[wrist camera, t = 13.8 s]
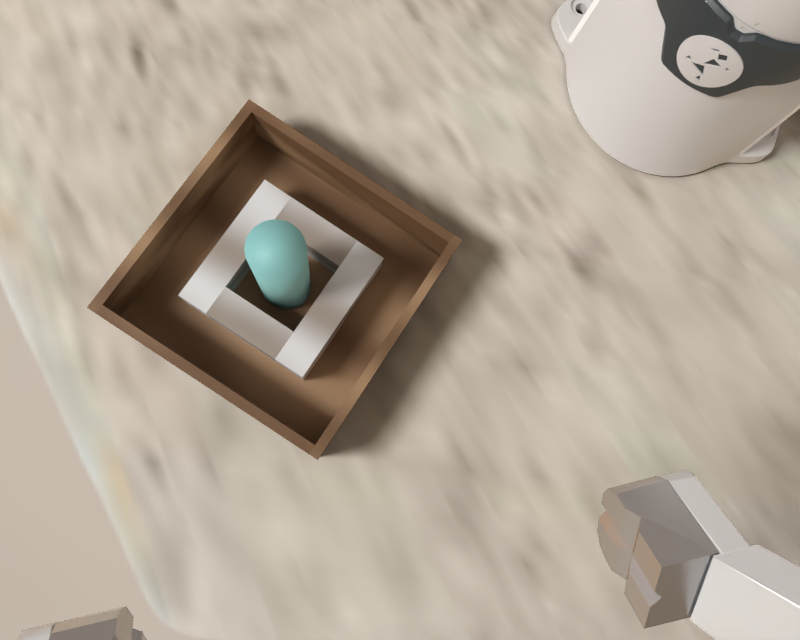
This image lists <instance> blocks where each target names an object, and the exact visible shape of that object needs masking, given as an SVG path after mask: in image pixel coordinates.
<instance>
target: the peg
mask: <svg viewBox="0 0 800 640" xmlns="http://www.w3.org/2000/svg"><path fill="white" fill-rule="evenodd" d="M244 251H245V257H246V260H247V262H248V264H249V266H250V268H251V270H252V272H253V274H254V276H255V278H256V281H257V283H258V285H259V287H260V289H261V291H262V293H263V295H264V297H265V299H266V300H267V301H268V302H269V303H270V304H271V305H272V306H274V307H276V308H278V309H282V310H290V309H295V308H297V307H299V306H301V305H302V304H303V303H304V302H305V301H306V300H307V298H308V297H309V294H310V291H311V279H310V271H309V263H308V255H307V246H306V241H305V238H304V236H303V234H302V233H301V231H300V230H299V229H298V228H297V227H296V226H294V225H293V224H291V223H290V222H287V221H284V220H279V219H273V220H267V221H264V222H262V223H260V224H258V225H257V226H255V227H254V228H253V229H252V230H251V231H250V233H249V234H248V236H247V238H246V241H245V247H244Z"/></svg>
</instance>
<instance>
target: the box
mask: <svg viewBox="0 0 800 640" xmlns="http://www.w3.org/2000/svg"><path fill="white" fill-rule="evenodd" d="M273 219H279V220H284V221H287V222H290V223H291V224H293V225H294V226H296V227H297V228H298V229H299V230H300V231H301V233H302V234H303V236H304V238H305V241H306V246H307V255H308V263H309V271H310V279H311V291H310V294H309V297H308V298H307V300H306V301H305V302H304V303H303V304H302V305H301V306H299V307H297V308H295V309H290V310H282V309H278V308H276V307H274V306H272V305H271V304H270V303H269V302H268V301H267V300H266V299H265V297H264V295H263V293H262V291H261V289H260V287H259V285H258V283H257V281H256V278H255V276H254V274H253V272H252V270H251V268H250V266H249V264H248V262H247V260H246V257H245V251H244V247H245V241H246V238H247V236H248V234H249V233H250V231H251V230H252V229H253V228H254V227H255V226H257V225H258V224H260V223H262V222H264V221H267V220H273ZM461 241H462V240H461V239H460V238H458V237H457V236H455V235H454V234H452V233H451V232H449V231H448V230H446V229H445V228H443V227H442V226H440V225H439V224H437V223H436V222H434V221H432V220H431V219H429V218H428V217H426V216H425V215H423V214H422V213H420V212H419V211H417V210H416V209H414V208H413V207H411V206H410V205H408V204H407V203H405V202H404V201H402V200H401V199H399V198H398V197H396V196H395V195H393V194H392V193H390V192H389V191H387V190H385V189H384V188H382V187H381V186H379V185H378V184H376V183H375V182H373V181H372V180H370V179H369V178H367V177H366V176H364V175H363V174H361V173H360V172H358V171H357V170H355V169H354V168H352V167H351V166H349V165H348V164H346V163H345V162H343V161H342V160H340V159H339V158H337V157H335V156H334V155H332V154H331V153H329V152H328V151H326V150H325V149H323V148H322V147H320V146H319V145H317V144H316V143H314V142H313V141H311V140H310V139H308V138H307V137H305V136H304V135H302V134H301V133H299V132H298V131H296V130H295V129H293V128H292V127H290V126H289V125H287V124H285V123H284V122H282V121H281V120H279V119H278V118H276V117H275V116H273V115H272V114H270V113H269V112H267V111H266V110H264V109H263V108H261V107H260V106H258V105H257V104H255V103H254V102H252V101H251V100H248V101H247V103H246V104H245V105H244V106H243V108H242V109H241V110H240V112H239V113H238V114H237V115H236V117H235V118H234V119H233V121H232V122H231V123H230V124H229V126H228V127H227V128H226V130H225V131H224V132H223V133H222V135H221V136H220V137H219V139H218V140H217V141H216V142H215V144H214V145H213V146H212V148H211V149H210V150H209V151H208V153H207V154H206V155H205V157H204V158H203V159H202V160H201V162H200V163H199V164H198V166H197V167H196V168H195V169H194V171H193V172H192V173H191V175H190V176H189V177H188V178H187V180H186V181H185V182H184V184H183V185H182V186H181V187H180V189H179V190H178V191H177V193H176V194H175V195H174V196H173V198H172V199H171V200H170V202H169V203H168V204H167V205H166V207H165V208H164V209H163V211H162V212H161V213H160V214H159V216H158V217H157V218H156V220H155V221H154V222H153V223H152V225H151V226H150V227H149V229H148V230H147V231H146V232H145V234H144V235H143V236H142V238H141V239H140V240H139V241H138V243H137V244H136V245H135V247H134V248H133V249H132V250H131V252H130V253H129V254H128V256H127V257H126V258H125V259H124V261H123V262H122V263H121V265H120V266H119V267H118V268H117V270H116V271H115V272H114V274H113V275H112V276H111V277H110V279H109V280H108V281H107V283H106V284H105V285H104V286H103V288H102V289H101V290H100V292H99V293H98V294H97V295H96V297H95V298H94V299H93V301H92V302H91V303H90V304H89V306H88V307H87V308H89V309H90V310H92V311H93V312H95V313H96V314H98V315H99V316H101V317H102V318H104V319H105V320H107V321H108V322H110V323H111V324H113V325H114V326H116V327H117V328H119V329H120V330H122V331H123V332H125V333H126V334H128V335H129V336H131V337H132V338H134V339H135V340H137V341H139V342H140V343H142V344H143V345H145V346H146V347H148V348H149V349H151V350H152V351H154V352H155V353H157V354H158V355H160V356H161V357H163V358H164V359H166V360H167V361H169V362H170V363H172V364H173V365H175V366H176V367H178V368H179V369H181V370H182V371H184V372H185V373H187V374H188V375H190V376H192V377H193V378H195V379H196V380H198V381H199V382H201V383H202V384H204V385H205V386H207V387H208V388H210V389H211V390H213V391H214V392H216V393H217V394H219V395H220V396H222V397H223V398H225V399H226V400H228V401H229V402H231V403H232V404H234V405H235V406H237V407H238V408H240V409H241V410H243V411H245V412H246V413H248V414H249V415H251V416H252V417H254V418H255V419H257V420H258V421H260V422H261V423H263V424H264V425H266V426H267V427H269V428H270V429H272V430H273V431H275V432H276V433H278V434H279V435H281V436H282V437H284V438H285V439H287V440H288V441H290V442H291V443H293V444H294V445H296V446H298V447H299V448H301V449H302V450H304V451H305V452H307V453H308V454H310V455H311V456H313V457H314V458H316V459H317V460H318V459H319V457H320V456H321V454H322V453H323V451H324V450H325V448H326V447H327V445H328V444H329V442H330V441H331V439H332V438H333V436H334V434H335V433H336V431H337V430H338V428H339V427H340V425H341V424H342V422H343V421H344V419H345V418H346V416H347V415H348V413H349V412H350V410H351V409H352V407H353V406H354V404H355V402H356V401H357V399H358V398H359V396H360V395H361V393H362V392H363V390H364V389H365V387H366V386H367V384H368V383H369V381H370V380H371V378H372V377H373V375H374V374H375V372H376V371H377V369H378V367H379V366H380V364H381V363H382V361H383V360H384V358H385V357H386V355H387V354H388V352H389V351H390V349H391V348H392V346H393V345H394V343H395V342H396V340H397V339H398V337H399V336H400V334H401V332H402V331H403V329H404V328H405V326H406V325H407V323H408V322H409V320H410V319H411V317H412V316H413V314H414V313H415V311H416V310H417V308H418V307H419V305H420V304H421V302H422V300H423V299H424V297H425V296H426V294H427V293H428V291H429V290H430V288H431V287H432V285H433V284H434V282H435V281H436V279H437V278H438V276H439V275H440V273H441V272H442V270H443V269H444V267H445V265H446V264H447V262H448V261H449V259H450V258H451V256H452V255H453V253H454V252H455V250H456V249H457V247H458V246H459V244H460V243H461Z"/></svg>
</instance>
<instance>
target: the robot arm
mask: <svg viewBox="0 0 800 640" xmlns="http://www.w3.org/2000/svg"><path fill="white" fill-rule="evenodd" d="M576 10H580V11H581V12H582V13H583V14H579V13H578V12H577V11H576ZM551 26H552V30H553V33H554V35H555V38H556V40H557V42H558V44H559V46H560V48H561V50H562V52H563V54H564V57H565V62H566V76H567V87H568V92H569V96H570V100H571V103H572V106H573V109H574V111H575V113H576V115H577V117H578V119H579V121H580V123H581V124H582V126H583V128H584V129H585V130H586V132H587V133H588V134H589V136H590V137H591V138H592V139H593V140H594V141H595V142H596V144H597V145H598V146H600V147H601V148H602V149H603V150H604V151H605V152H606V153H608V154H609V155H610V156H612V157H613V158H615V159H616V160H618V161H619V162H621V163H623V164H625V165H627V166H629V167H631V168H633V169H636V170H639V171H642V172H645V173H649V174H653V175H660V176H684V175H690V174H694V173H698V172H701V171H704V170H706V169H708V168H711V167H713V166H716V165H719V164H722V163H726V162H731V163H755V162H759V161H761V160H763V159H764V158H765V157H766V156H767V155H769V154H770V153H771V152H772V150H773V148H774V146H775V143H776V139H777V136H778V133H779V129H780V126H781V123H782V122H783V121H785V120H786V119H787V118H788V117H790V116H791V115H792V114H793V113H795V112H796V111H797V110H798V109H800V0H566V1H565V2H564V3H563V4H562V5H561V6H560V7H559V9H558V10H557V11H556V12H555V14H554V15H553V17H552V20H551ZM602 504H603V506H604V507H605V509H606V511H605V512H604V513H603V514H602V515H601V516H600V517H599V520H598V528H597V532H598V537H599V543H600V547H601V549H602V552H603V554H604V557H605V559H606V561H607V563H608V564H609V566H610V568H611V570H612V571H614V572H615V573H617V574H618V575H620V576H621V577H623V578H625V579H626V584H625V592H624V594H625V595H626V597H627V599H628V601H629V603H630V604H631V606H632V608H633V610H634V612H635V613H636V615H637V617H638V619H639V620H640V622H641V624H642V626H643V628H648V627H652V626H656V625H660V624H664V623H669V622H673V621H677V620H681V619H685V618H689V617H691V618H690V620H691V621H692V622H693V623H695V624H696V625H697V626H698V627H700V628H701V629H702V630H704V631H705V632H706V633H708V634H709V635H710V636H711V637H713V638H714V639H715V640H800V567H799V566H797V565H795V564H793V563H791V562H790V561H788V560H786V559H784V558H782V557H780V556H779V555H777V554H775V553H773V552H771V551H769V550H768V549H766V548H764V547H762V546H760V545H758V544H756V545H751V546H750V545H749V544H748V543H747V541H746V540H745V539H744V538H743V536H742V535H741V534H740V533H739V531H738V530H737V529H736V527H735V526H734V525H733V524H732V522H731V521H730V520H729V518H728V517H727V516H726V515H725V513H724V512H723V511H722V509H721V508H720V507H719V506H718V504H717V503H716V502H715V501H714V499H713V498H712V497H711V495H710V494H709V493H708V492H707V490H706V489H705V488H704V486H703V485H702V484H701V483H700V481H699V480H698V479H697V477H696V476H695V475H694V474H693V473H691V472H690V471H688V470H681V471H677V472H673V473H669V474H665V475H662V476H654V477H651V478H647V479H643V480H639V481H635V482H632V483H628V484H624V485H620V486H616V487H612V488H609V489H607V490H606V491H605V492H604V493H603V497H602ZM132 627H133V616H132V614H131V613H130V611H129V610H128V608H127V607H126V606H125V607H121V608H116V609H112V610H108V611H104V612H99V613H95V614H91V615H87V616H82V617H78V618H74V619H70V620H65V621H61V622H55V623H50V624H47V625H42V626H38V627H35V628H30V629H27V630H22V632H21V634H20V635H19V637H18V639H17V640H147V639H146V638H145V636H144V634H143V632H142V631H139V630H136V629H133V628H132Z"/></svg>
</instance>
